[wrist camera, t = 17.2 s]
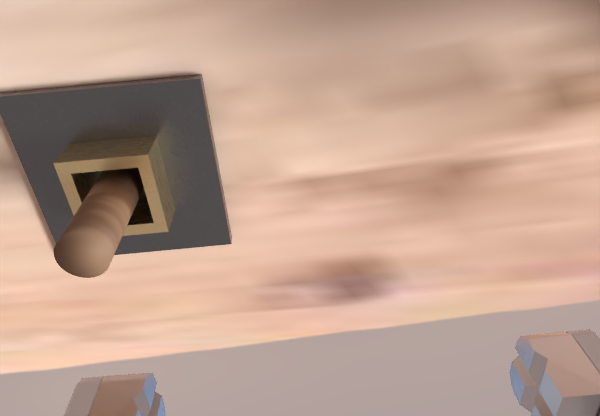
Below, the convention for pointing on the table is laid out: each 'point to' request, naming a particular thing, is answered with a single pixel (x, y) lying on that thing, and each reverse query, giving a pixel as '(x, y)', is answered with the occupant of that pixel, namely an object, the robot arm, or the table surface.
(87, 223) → the rail post
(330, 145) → the table surface
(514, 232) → the table surface
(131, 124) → the peg socket base
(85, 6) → the table surface
